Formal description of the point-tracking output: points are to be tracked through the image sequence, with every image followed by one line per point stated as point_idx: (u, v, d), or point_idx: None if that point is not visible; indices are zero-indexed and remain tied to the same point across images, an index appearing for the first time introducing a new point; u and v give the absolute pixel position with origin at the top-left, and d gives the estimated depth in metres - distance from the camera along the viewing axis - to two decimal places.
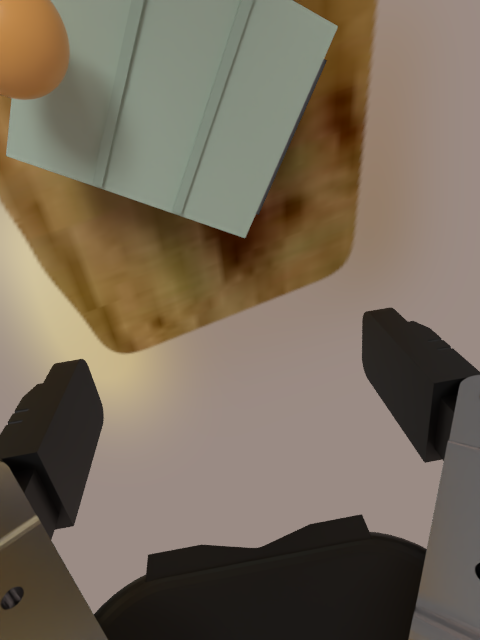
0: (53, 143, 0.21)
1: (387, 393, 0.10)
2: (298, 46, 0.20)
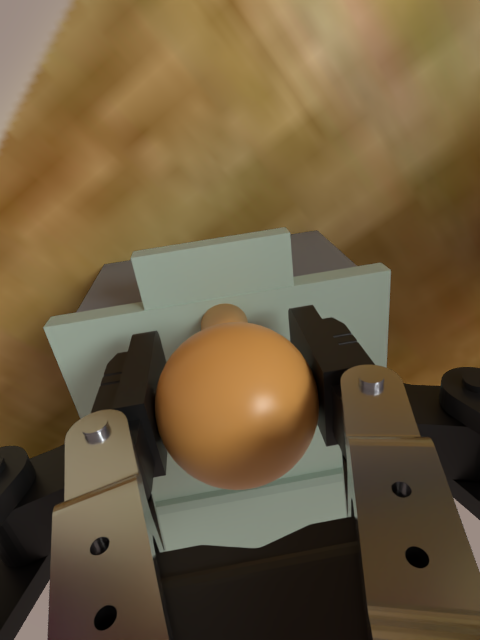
0: None
1: None
2: None
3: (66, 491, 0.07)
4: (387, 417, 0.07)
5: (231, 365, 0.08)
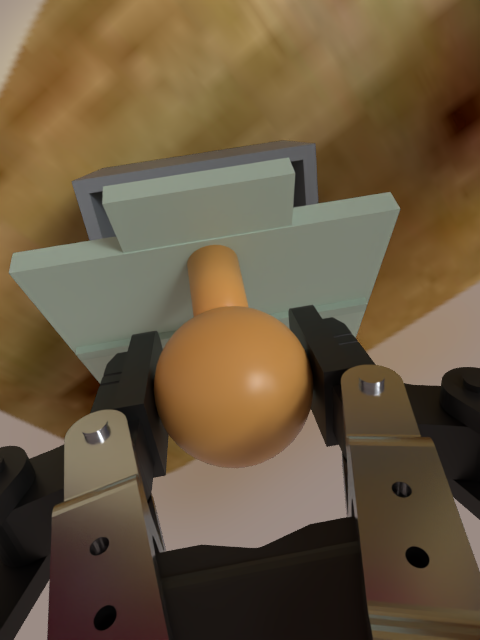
0: (86, 306, 0.13)
1: None
2: None
3: (66, 491, 0.07)
4: (387, 416, 0.07)
5: (236, 391, 0.08)
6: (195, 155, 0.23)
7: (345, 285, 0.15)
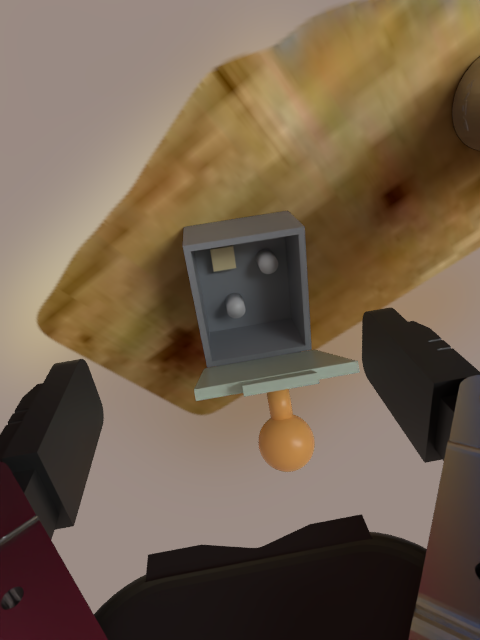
0: None
1: (387, 393, 0.10)
2: None
3: None
4: None
5: (292, 463, 0.27)
6: (238, 222, 0.40)
7: None
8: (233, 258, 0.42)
